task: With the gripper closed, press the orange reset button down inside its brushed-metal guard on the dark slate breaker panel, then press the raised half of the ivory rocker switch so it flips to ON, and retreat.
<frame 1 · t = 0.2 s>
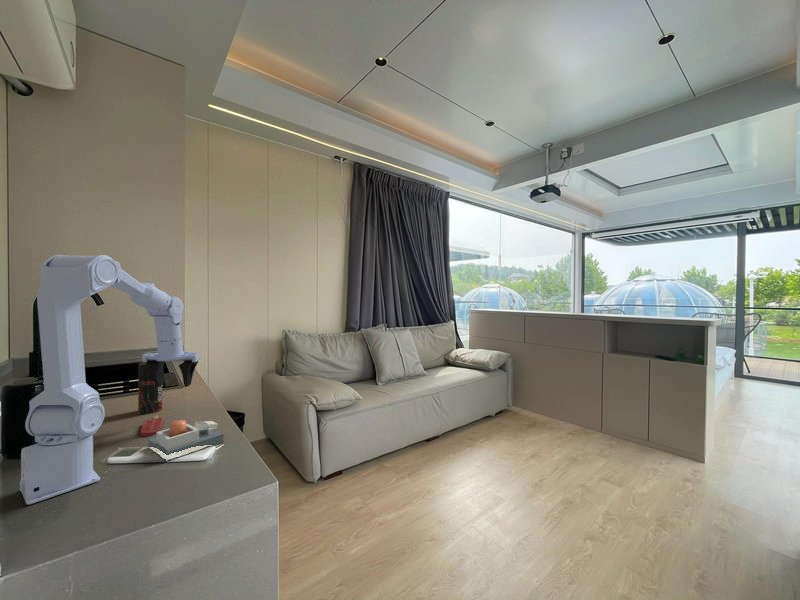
hand: (174, 385, 93), 10 cm above the counter, tool pointing down, fingers open, 7 cm apart
breaker panel: (189, 444, 80), on the counter
popsicle: (153, 428, 90), on the counter
deodorant: (150, 411, 102), on the counter
rocker: (206, 425, 82), point 4 cm above the counter, hinge at 14.0°
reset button: (178, 428, 76), point 5 cm above the counter, slide at 0.0 cm
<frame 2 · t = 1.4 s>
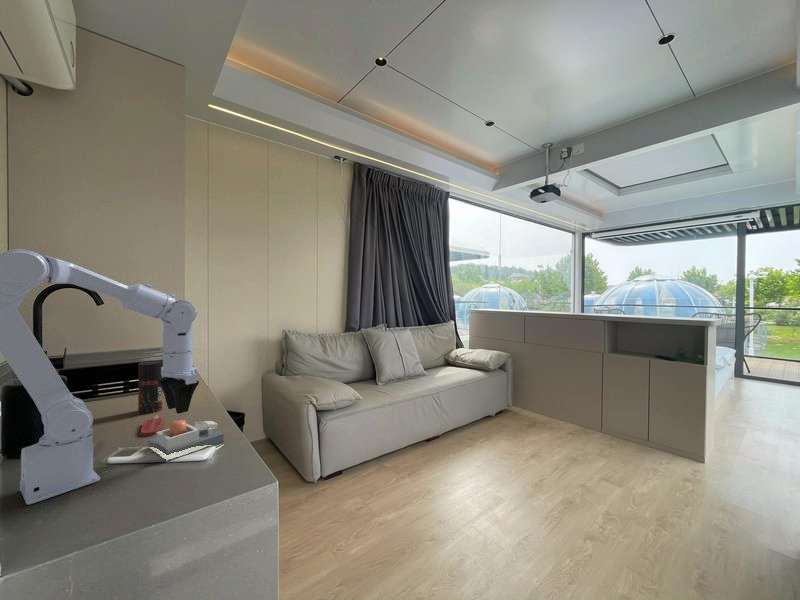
hand: (178, 410, 76), 9 cm above the counter, tool pointing down, fingers open, 4 cm apart
nothing on the counter moved.
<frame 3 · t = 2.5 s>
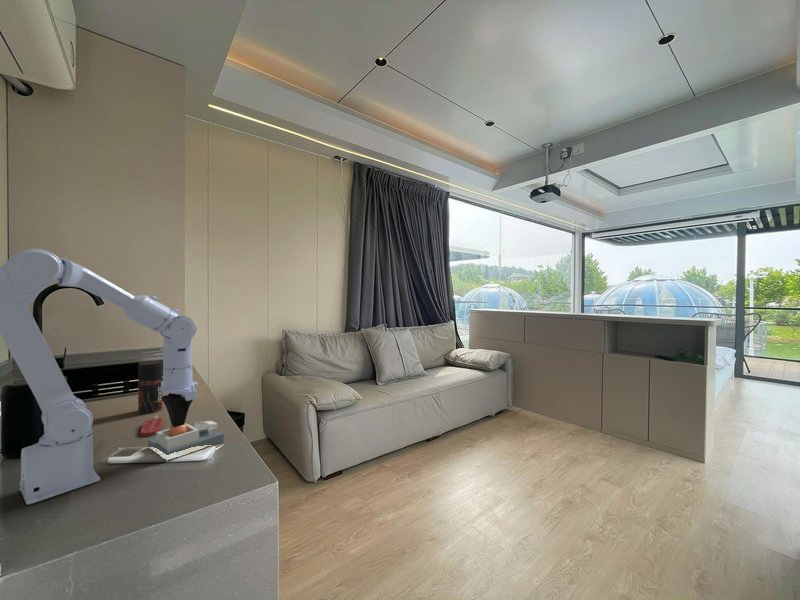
hand: (178, 425, 76), 6 cm above the counter, tool pointing down, fingers closed
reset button: (178, 431, 76), point 4 cm above the counter, slide at 0.6 cm
everything else where it was.
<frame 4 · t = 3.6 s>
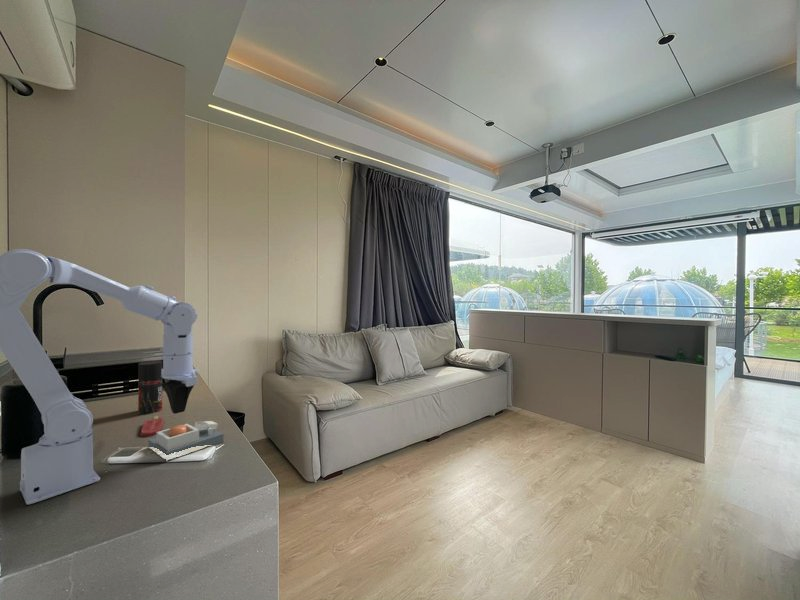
hand: (178, 412, 76), 9 cm above the counter, tool pointing down, fingers closed
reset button: (178, 434, 76), point 4 cm above the counter, slide at 1.2 cm
everything else where it was.
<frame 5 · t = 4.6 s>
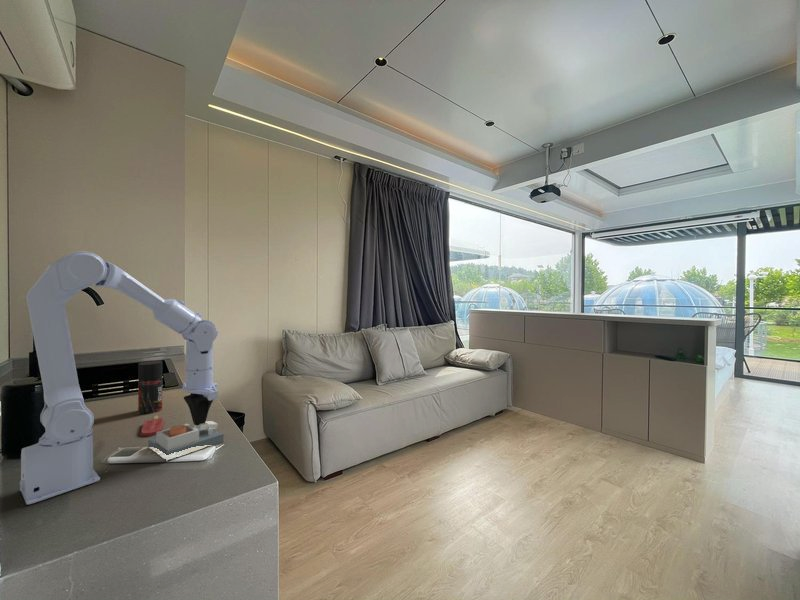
hand: (199, 423, 81), 5 cm above the counter, tool pointing down, fingers closed, pressing on rocker
rocker: (206, 425, 82), point 4 cm above the counter, hinge at 13.9°, touching gripper
everything else where it was.
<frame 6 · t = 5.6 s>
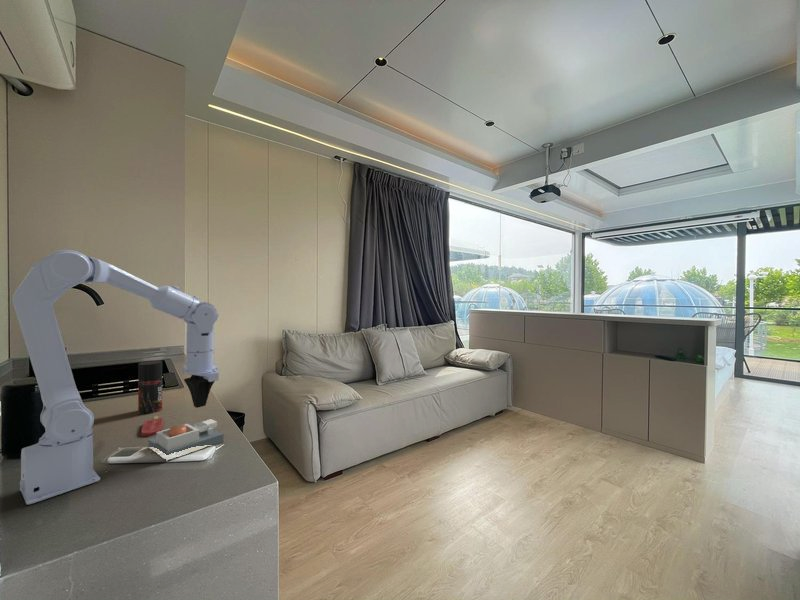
hand: (200, 406, 81), 9 cm above the counter, tool pointing down, fingers closed
rocker: (205, 425, 82), point 4 cm above the counter, hinge at -2.4°
everything else where it was.
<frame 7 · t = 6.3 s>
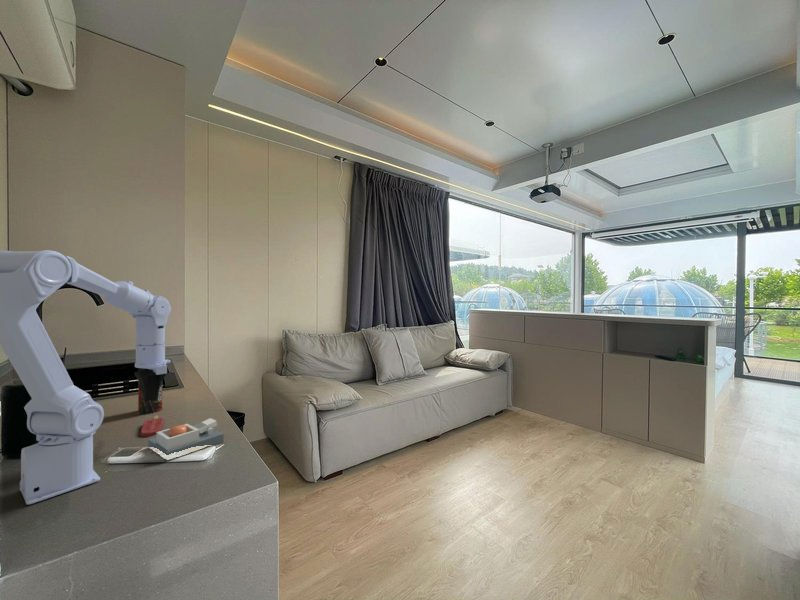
hand: (150, 399, 81), 10 cm above the counter, tool pointing down, fingers closed
rocker: (205, 425, 82), point 4 cm above the counter, hinge at -10.8°
everything else where it was.
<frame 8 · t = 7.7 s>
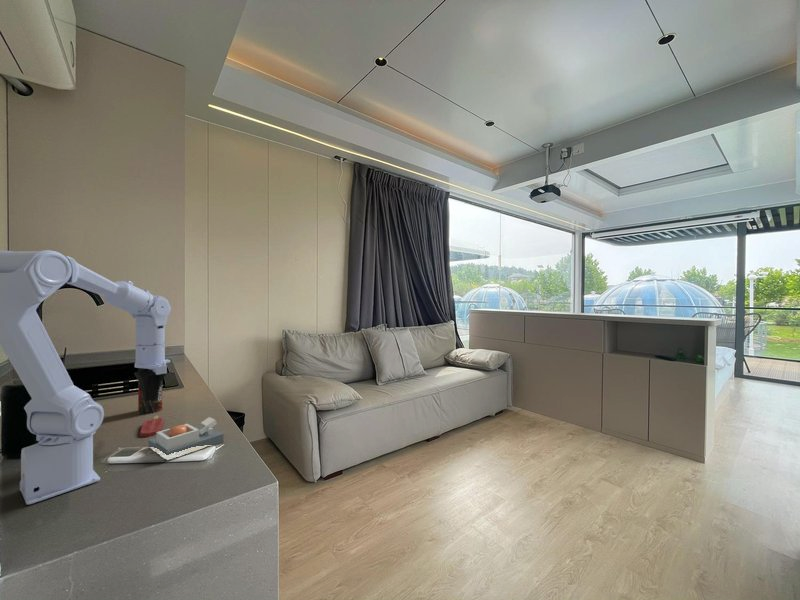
hand: (150, 399, 81), 10 cm above the counter, tool pointing down, fingers closed
rocker: (205, 425, 82), point 4 cm above the counter, hinge at -23.2°
everything else where it was.
at the end: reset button slide at 1.2 cm; rocker at -23° (first picture: +14°) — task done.
